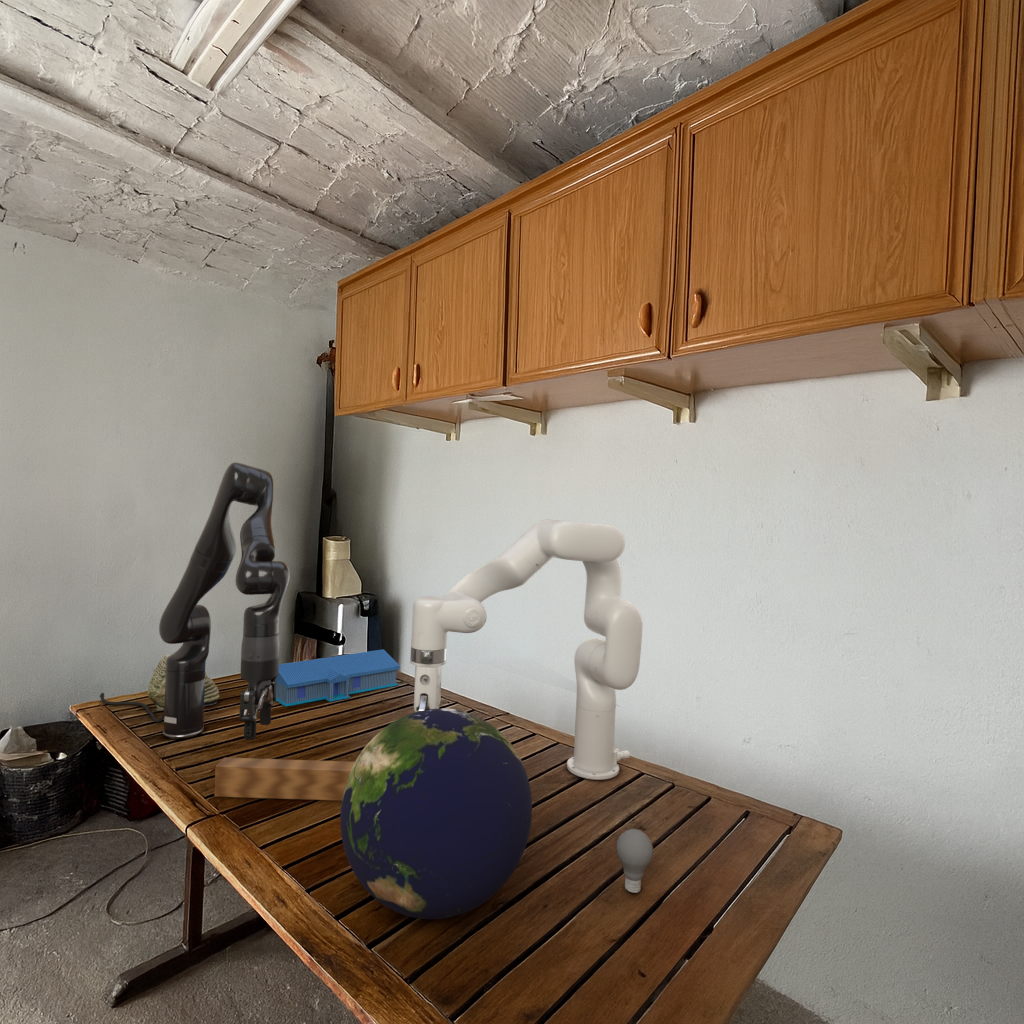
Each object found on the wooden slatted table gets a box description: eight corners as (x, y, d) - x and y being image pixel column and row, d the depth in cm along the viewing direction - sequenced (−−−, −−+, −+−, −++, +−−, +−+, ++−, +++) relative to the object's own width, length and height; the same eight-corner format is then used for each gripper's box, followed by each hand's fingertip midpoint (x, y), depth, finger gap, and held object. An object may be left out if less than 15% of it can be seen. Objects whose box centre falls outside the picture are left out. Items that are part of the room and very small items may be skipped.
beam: (214, 796, 132) (215, 766, 132) (223, 786, 136) (224, 757, 136) (458, 804, 133) (460, 774, 133) (460, 794, 138) (461, 765, 137)
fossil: (144, 707, 182) (145, 655, 182) (212, 696, 194) (213, 647, 194) (151, 716, 175) (153, 662, 175) (221, 703, 188) (223, 653, 188)
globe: (293, 930, 92) (301, 726, 92) (403, 834, 120) (409, 676, 120) (479, 999, 81) (489, 767, 81) (552, 875, 109) (560, 702, 108)
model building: (289, 709, 186) (291, 675, 185) (258, 688, 204) (259, 657, 204) (403, 687, 212) (405, 657, 212) (366, 670, 230) (368, 643, 230)
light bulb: (610, 879, 108) (613, 822, 108) (644, 879, 109) (647, 822, 109) (619, 902, 102) (622, 840, 102) (655, 901, 103) (658, 840, 103)
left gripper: (265, 664, 127) (263, 745, 127) (289, 648, 141) (286, 720, 141) (228, 663, 126) (225, 743, 127) (255, 646, 141) (252, 719, 141)
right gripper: (442, 666, 126) (438, 752, 126) (449, 646, 143) (445, 722, 144) (404, 665, 126) (400, 750, 126) (415, 645, 143) (412, 720, 143)
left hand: (257, 731), depth 134 cm, fingers open, 8 cm apart
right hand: (424, 735), depth 135 cm, fingers open, 9 cm apart
